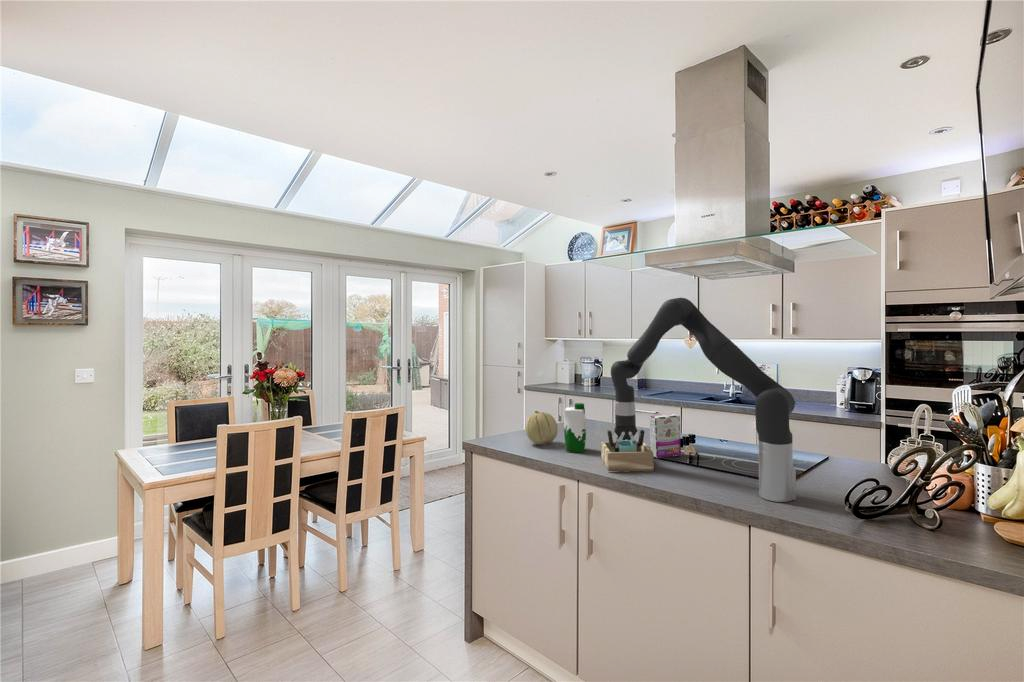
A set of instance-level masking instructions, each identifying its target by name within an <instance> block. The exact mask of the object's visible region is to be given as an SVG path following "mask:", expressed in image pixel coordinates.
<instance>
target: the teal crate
mask: <svg viewBox="0 0 1024 682" xmlns="http://www.w3.org/2000/svg"><path fill="white" fill-rule="evenodd" d="M618 448H619V452H637V446H636V445H635V444H633V443H632V441H631V440H622V441H621V443H620V444H619V447H618Z"/></svg>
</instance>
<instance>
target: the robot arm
mask: <svg viewBox="0 0 1024 682" xmlns="http://www.w3.org/2000/svg"><path fill="white" fill-rule="evenodd" d="M676 326H682V327H683V328H685V329H686V330H687V331H689V332H690V333H691V334H692V335H693V336H694V338H695V339H696V340H697V343H698V344H699V346H700V349H701V351H702V352H703V355H704V356H705V357H706V359H707V360H708V361H709V362H710V363H711V364H712V365H713V366H714V367H715V368H716V369H717V370H719V371H720V372H721V373H723V375H726V377H728V378H730V379H732V380H733V381H735V382H737V383H739V384H740V385H742V386H743V387H745V388H746V389H747V390H748V391H750V393H752V395H754V397H755V398H756V400H755V407H754V408H755V410H754V411H755V412H754V413H755V415H754V416H755V429H756V433H757V436H758V437H757V438H758V496H759V497H760V498H762V499H763V500H767V501H770V502H779V503H780V502H781V503H786V502H791V501H795V500H797V472H796V471H797V470H796V468H795V466H794V459H793V454H794V453H793V449H794V448H793V433H792V432H791V429H790V414H791V413H792V412H793V411H794V410H795V404H796V403H795V402H796V401H795V399H794V396H793V395H792V393H791V392H790V391H789V390H788V389H787V388H785V387H784V386H783V385H781V384H779V383H778V382H777V381H775V380H774V379H773V378H772V377H770V376H769V375H768V374H767V373H765V372H764V371H763V370H762V369H761V368H760V367H759V366H758V365H757V364H756V363H755V362H754V361H753V360H752V359H751V358H750V357H748V355H747V354H746V353H745V352H744V351H743V350H741V349H740V348H739V347H738V346H737V345H736V344H735V343H734V342H733V341H732V340H731V339H730V338H728V336H726V335H725V334H724V333H723V332H722V331H721V330H719V328H717V327H716V326H715V325H714V324H713V323H712V322H710V321H709V320H708V319H707V318H706V316H705V315H704V314H703V313H702V312H701V311H700V310H699V309H698V307H697V306H696V305H695V304H694V303H693V302H692V301H691V300H689V299H688V298H685V297H675V298H671V299H667V300H665V301H664V302H663V303H662V304H661V306H660V307H659V309H658V310H657V312H656V314H655V315H654V317H653V319H652V321H651V322H650V323H649V325H648V326H647V328H646V329H645V330H644V332H643V333H642V335H641V336H640V337H639V338H638V340H637V341H636V342H635V343H634V344H633V345H632V346H631V347H630V349H629V350H628V351H627V354H626V356H627V359H626V360H617V361H614V362H613V364H612V365H611V366H610V376H611V379H612V384H613V388H614V391H615V395H614V396H615V398H614V399H615V402H614V403H615V406H614V413H615V414H614V418H615V419H614V420H615V421H614V422H615V425H614V426H615V427H614V429H611V430H610V429H608V430H607V431H606V433H607V437H608V442H609V444H610V445H611V446H612V447H614V448H615V452H619V448H618V447H619V444H620V443H621V441H622V440H631V441H632V443H633V444H635V445H636V446H637V452H638V447H639V446H642V445H643V442H644V438H645V430H644V429H642V428H641V429H638V428H637V425H636V423H637V421H636V417H637V416H636V404H635V403H636V402H635V389H634V386H632V385H629V384H628V379H633V378H634V377H636V376H637V375H638V374H639V372H640V371H641V369H642V367H643V365H644V364H645V362H646V361H647V360H648V359H649V358H650V357H651V356H652V354H654V352H655V351H656V349H657V347H658V345H659V343H660V341H661V339H662V338H663V337H664V336H665V334H666V333H667V332H669V331H670V330H672V329H673V328H674V327H676ZM614 434H615V435H617V437H616V439H615V441H614V440H613V437H614ZM636 434H637V435H638V440H636V439H635V436H636ZM636 441H638V442H637V443H636ZM613 442H615V443H613Z"/></svg>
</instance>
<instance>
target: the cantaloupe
mask: <svg viewBox="0 0 1024 682" xmlns="http://www.w3.org/2000/svg"><path fill="white" fill-rule="evenodd" d="M558 431H559V430H558V424H557V421H556V419H555V418H554V417H553V416H552V415H551V414H550V413H547V412H540V411H538V410H536V411H534V413H533V414H531V415H530V416H529V417H528V418H527V421H526V423H525V432H526V433H525V434H526V437H527V438H528V440H529V441H530V442H532V443H533V444H536V445H538V444H546V445H548V444H550V443H552V442H553V441H554V440H555V439H556V437H557V435H558Z"/></svg>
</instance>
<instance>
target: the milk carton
mask: <svg viewBox="0 0 1024 682" xmlns="http://www.w3.org/2000/svg"><path fill="white" fill-rule="evenodd" d="M563 428H564V430H563V431H564V432H563V433H564V443H565V445H564V446H565V450H566V452H567V451H574V452H573V453H584V451H585V448H586V440H587V432H586V431H587V427H586V407H585V403H583V402H582V403H580V402H579V403H577V402H576V403H574V406H572V407H567V406H566V407H565V409H564V415H563Z"/></svg>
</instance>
